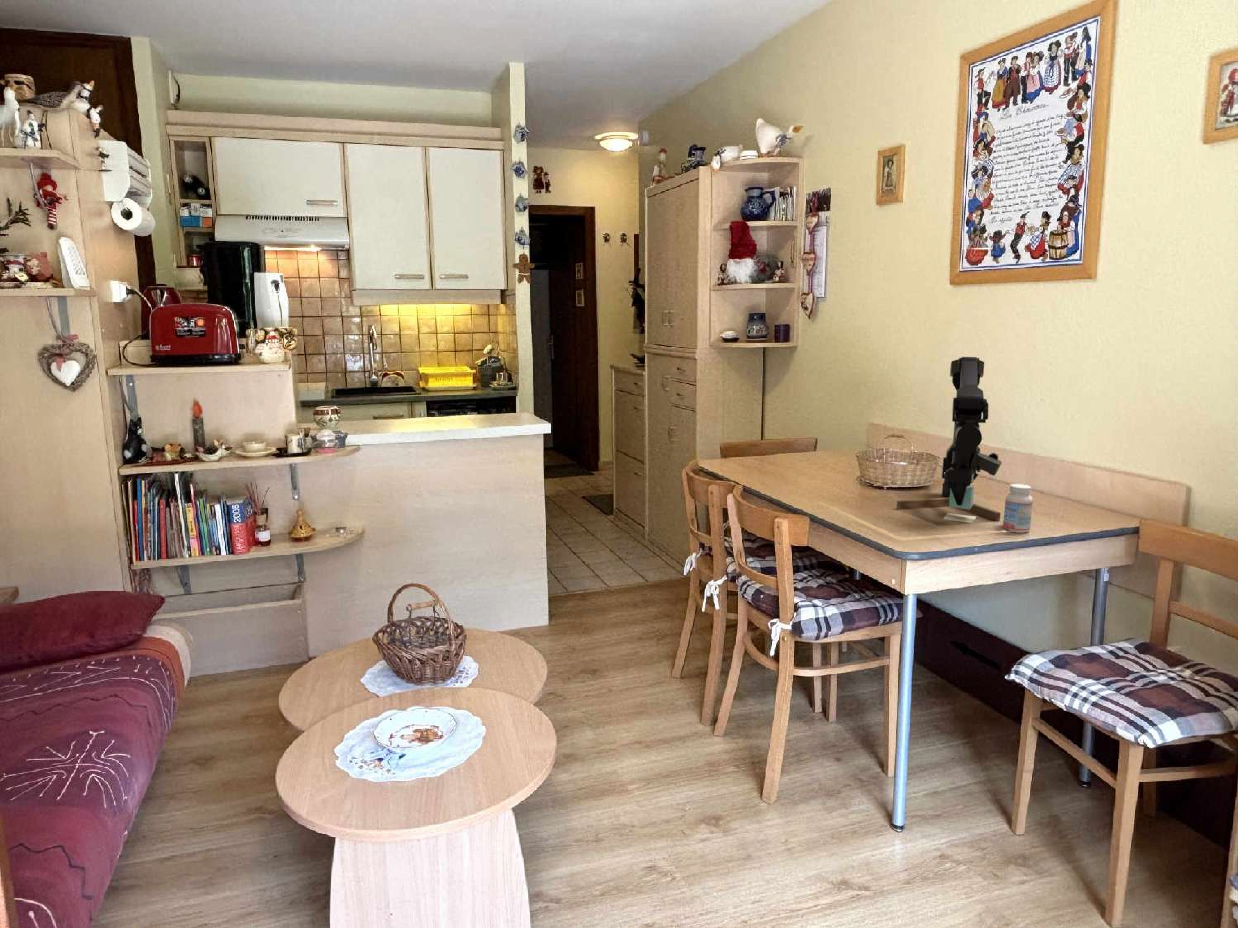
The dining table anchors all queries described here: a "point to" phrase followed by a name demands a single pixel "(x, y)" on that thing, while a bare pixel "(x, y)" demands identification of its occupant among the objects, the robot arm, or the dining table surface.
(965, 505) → the teal block
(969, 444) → the robot arm
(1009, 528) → the pill bottle
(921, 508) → the arena
